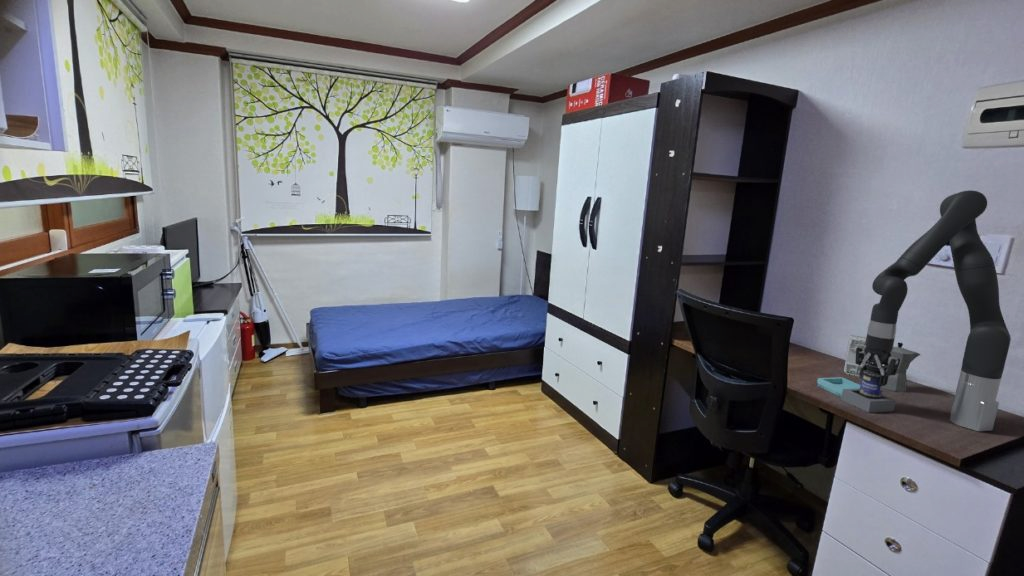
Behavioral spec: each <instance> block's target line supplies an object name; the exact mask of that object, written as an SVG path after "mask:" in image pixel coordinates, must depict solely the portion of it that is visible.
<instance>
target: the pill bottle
mask: <svg viewBox="0 0 1024 576" xmlns="http://www.w3.org/2000/svg"><path fill="white" fill-rule="evenodd" d="M880 375H881V372H880V369H879V368H878V366H877V365H876V364H873V363H868V364H867V370H864V371H863V375H862V378H861V380H860V384H859V385H860V391H859V393H860V395H862V396H864V397H867V398H871V399H880V398H881V395H882V394H883V389H884V388H883V386H880V385H879V379H880Z"/></svg>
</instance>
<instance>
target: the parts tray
mask: <svg viewBox="0 0 1024 576" xmlns="http://www.w3.org/2000/svg"><path fill="white" fill-rule="evenodd" d="M860 385H861V384H859V383H856V382H854V381H852V380H849V379H847V378H845V377H842V376H841V377H839V376H838V377H818V378H817V383H816V386H817V387H819V388H821V389H823V390H825V391H828V392H830V393H831V394H834V395H836V396H838V397H839V398H841V397H842V392H843V389H856V388H860Z"/></svg>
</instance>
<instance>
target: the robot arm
mask: <svg viewBox="0 0 1024 576" xmlns="http://www.w3.org/2000/svg"><path fill="white" fill-rule="evenodd" d="M987 206H988V199H987V197H986V196H985V195H984V194H983V193H982V192H980V191H978V190H972V189H971V190H963V191H959V192H957V193H954V194H951V195H948V196H947V197H946V198H944V199H943V200H942V201H941V203H940V206H939V214H940V218H939V220H937V221H936V223H935V224H934V225H933V226H931V228H930V229H928V231H926V232H925V233H923V234H922V235H921V236H920V237H919V238H918V239H916V240H915V241H914V242H913V243H912V244H911V245H910V246H909V247H908V248H907V249H906V250H905V251H904V252H903V253H902V254H901V255H900V257H898V259H897V260H896V261H895V262H894V263H892V264H891V265H889V266H888V267H887V268H885V269H884V270H883V271H881V272H880V273H879V274H878V275H877V276H876V277H875V278H874V280H873V282H872V286H871V287H872V288H871V289H872V290H873V291H874V293H875V294H877V295H879V296H880V300H879V302H878V303H874V304H873V306H872V309H871V313H870V318H869V319H870V320H869V322H868V325H867V331H866V336H865V337H866V342H865V346H866V348H864V347H859V348H856V361H855V363H856V364H858V365H859V366H860V367H861V369H860V379H862V375H863V371H864V370H867V364H868V363H875V364H876V365H877V366H878V368H879V369H880V372H881V375H880V379H879V385H880V386H885V385H887V382H888V377H889V376H890V375H896V372H897V369H898V366H899V363H900V359H895V358H893V357H891V351H892V350H893V347H894V344H895V339H896V333H897V323H898V322H897V321H898V317H899V312H900V310H901V309H902V306H903V304H904V302H905V299H906V297H907V295H908V290H909V289H908V284H907V282H906V281H905V280H906V279H907V278H909V277H915V276H917V275H918V274H919V273H921V271H922V270H923V269H924V268H925V267H926V266H927V265H928V264H929V263H930V262H931V261H932V259H933V258H934V257H936V255H937V254H938V253H939V252H940V251H941V250H942V249H943V248H944V247H945V246H946V245H947V244H948V243H949V246H950V252H951V257H952V262H953V263H952V264H953V268H954V269H953V270H954V273H955V277H956V278H955V279H956V282H957V287H958V288H959V292H960V294H961V296H962V298H963V301H964V302H965V305H966V308H967V310H968V318H969V326H970V327H969V333H968V335H967V339H966V343H965V344H966V345H965V348H964V352H963V356H962V357H963V358H962V362H961V363H962V364H961V367H960V368H961V369H960V371H959V372H960V373H959V378H958V382H957V385H956V386H957V387H956V389H955V394H954V398H953V404H952V407H951V412H950V417H949V421H950V422H951V423H952V424H955V425H957V426H959V427H962V428H965V429H968V430H973V431H975V432H987V431H988V432H989V431H993V429H994V425H995V420H996V417H997V413H998V409H999V405H1000V402H999V401H997V397H998V393H999V389H1000V385H1001V381H1002V377H1003V374H1004V370H1005V367H1006V366H1005V365H1006V361H1007V357H1008V353H1009V350H1010V344H1011V339H1012V338H1011V334H1010V331H1009V330H1008V327H1007V324H1006V322H1005V320H1004V316H1003V313H1002V310H1001V306H1000V305H1001V304H1000V289H999V287H1000V286H999V280H998V273H997V269H996V264H995V260H994V259H993V256H992V254H991V252H990V251H989V250H988V248H987V247H986V245H985V244H984V242H983V240H982V238H981V237H980V235H979V232H978V228H977V227H978V225H977V221H976V220H977V218H979V217H980V216H981V215H982V214H984V212H985V211H986V210H987V208H988V207H987ZM865 354H866V357H865V358H864V355H865ZM888 361H889V363H890V364H889V363H888Z"/></svg>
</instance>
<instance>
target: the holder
mask: <svg viewBox="0 0 1024 576" xmlns="http://www.w3.org/2000/svg"><path fill="white" fill-rule="evenodd" d="M859 391H860V388H856V389H843V392H842V397H840V400H841V401H843V402H845V403H847V404H848V405H851V406H853V405H854V406H853V407H855V406H856V407H855V408H858V409H859V408H860V410H861V411H864V412H865V413H866V412H867V413H872V414H873V413H884V412H885V413H886V412H887V413H888V412H894V410H895V405H896V403H897V402H896V399H894V398H891V397H890V396H887V395H885V394H883V393H882V395H881V398H880V399H871V398H867V397H864V396H862V395H860V393H859Z"/></svg>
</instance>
